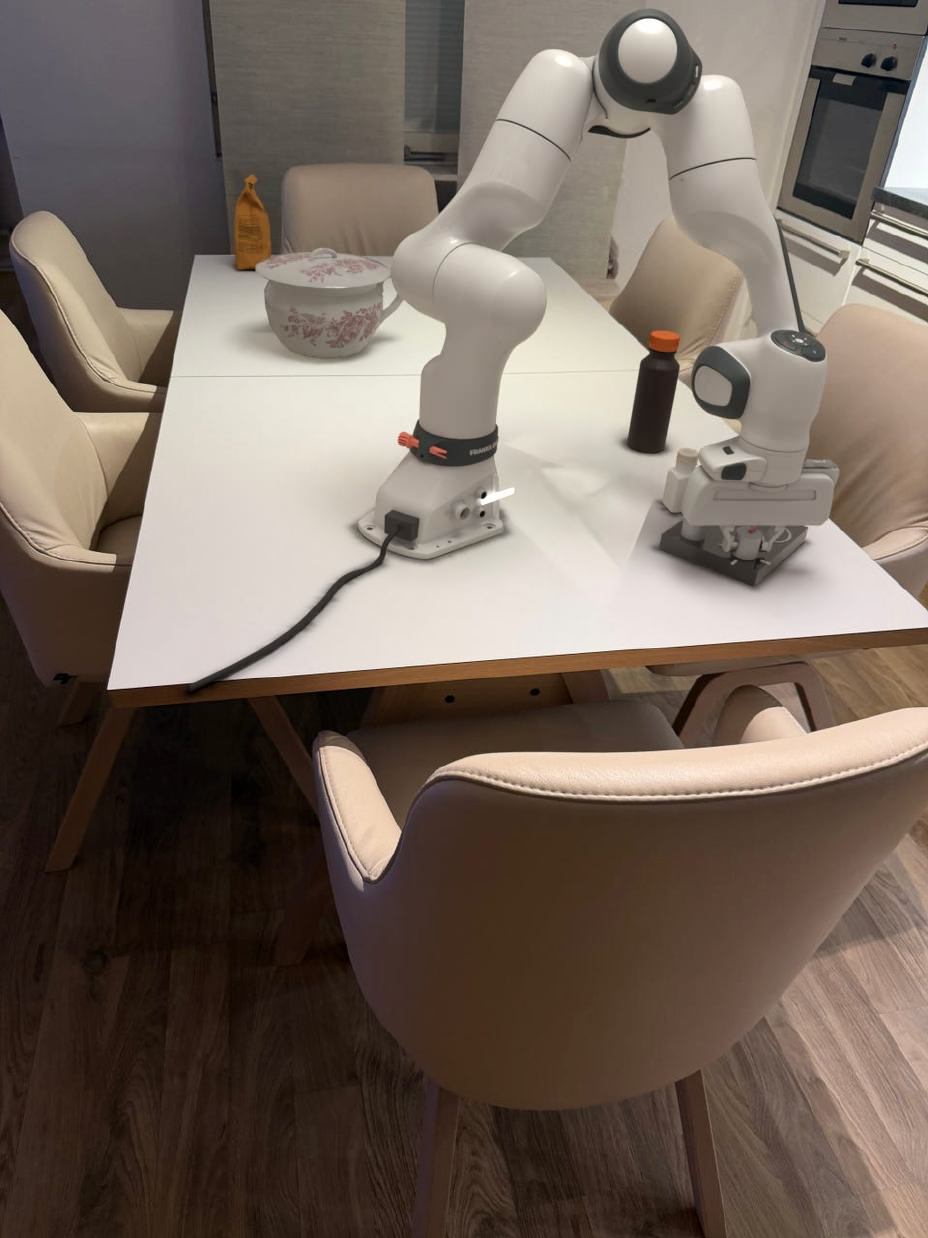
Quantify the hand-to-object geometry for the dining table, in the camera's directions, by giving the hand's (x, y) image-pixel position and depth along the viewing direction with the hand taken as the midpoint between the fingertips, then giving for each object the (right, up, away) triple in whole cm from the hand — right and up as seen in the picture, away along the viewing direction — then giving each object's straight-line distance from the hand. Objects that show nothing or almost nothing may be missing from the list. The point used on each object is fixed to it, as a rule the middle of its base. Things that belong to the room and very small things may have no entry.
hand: (745, 549), depth 134 cm
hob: (0, +1, +8) cm, 8 cm away
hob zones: (+1, +3, +7) cm, 7 cm away
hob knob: (0, -1, 0) cm, 1 cm away
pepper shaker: (-6, +8, +17) cm, 20 cm away
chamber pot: (-69, +48, +70) cm, 110 cm away
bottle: (-7, +21, +37) cm, 43 cm away
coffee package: (-96, +85, +123) cm, 178 cm away
